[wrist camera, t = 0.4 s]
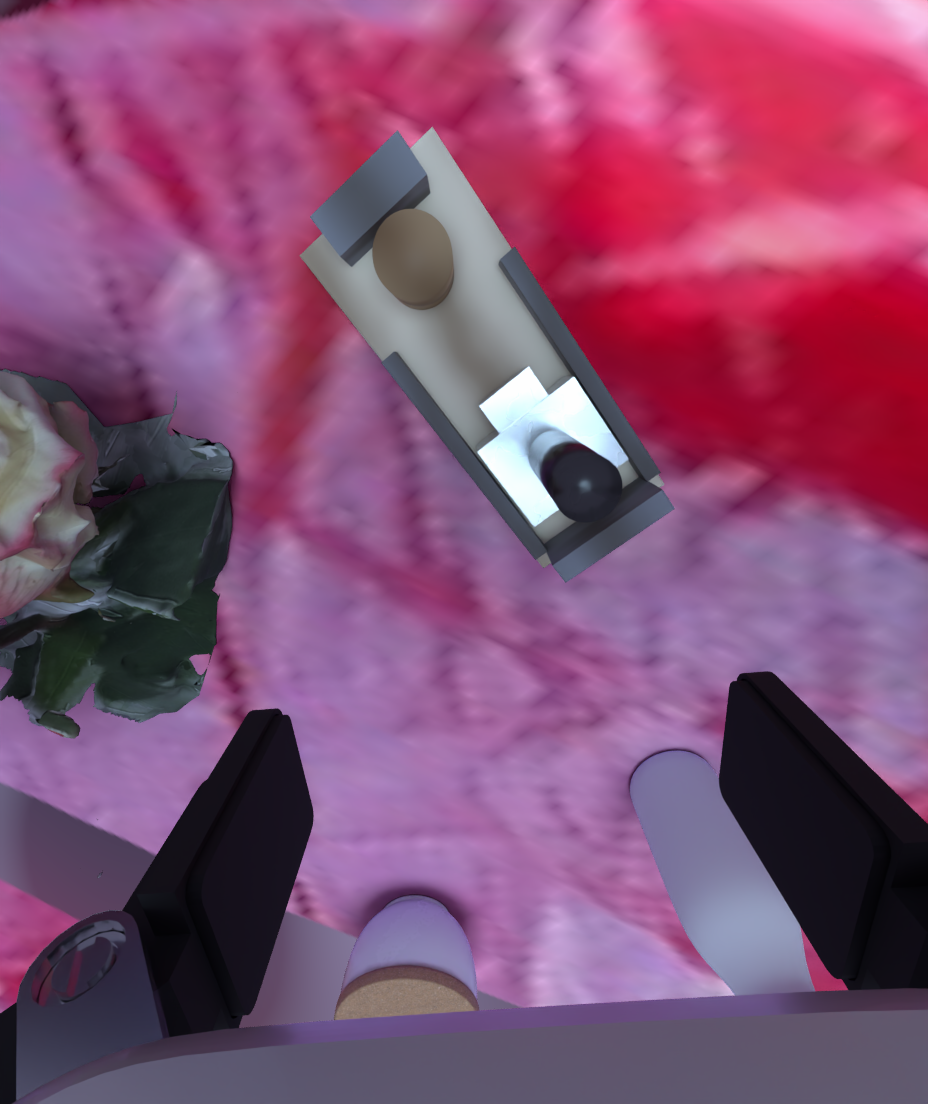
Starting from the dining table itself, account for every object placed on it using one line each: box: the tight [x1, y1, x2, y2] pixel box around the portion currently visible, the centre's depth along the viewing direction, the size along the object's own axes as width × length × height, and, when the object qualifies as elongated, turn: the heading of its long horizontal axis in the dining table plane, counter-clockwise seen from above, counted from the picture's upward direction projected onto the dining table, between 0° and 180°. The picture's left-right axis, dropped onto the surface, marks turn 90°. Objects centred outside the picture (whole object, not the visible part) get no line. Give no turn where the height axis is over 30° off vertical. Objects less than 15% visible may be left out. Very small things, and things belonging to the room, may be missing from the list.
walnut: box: [372, 209, 454, 310], centre depth 27 cm, size 4×4×5 cm
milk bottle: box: [630, 751, 815, 996], centre depth 36 cm, size 8×8×20 cm
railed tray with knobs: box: [300, 127, 675, 583], centre depth 31 cm, size 10×25×6 cm, turn 38°
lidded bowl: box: [334, 895, 479, 1020], centre depth 47 cm, size 13×13×11 cm
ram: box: [476, 367, 628, 527], centre depth 27 cm, size 7×8×12 cm
